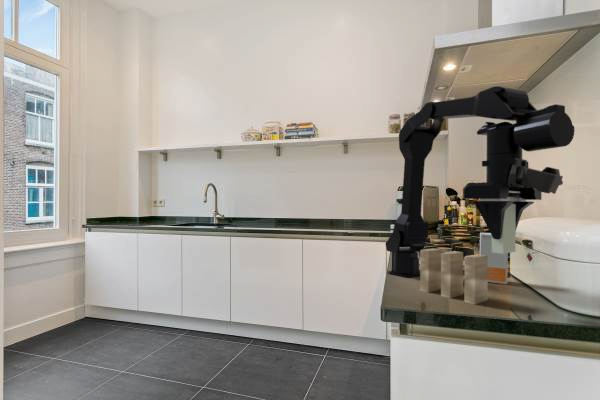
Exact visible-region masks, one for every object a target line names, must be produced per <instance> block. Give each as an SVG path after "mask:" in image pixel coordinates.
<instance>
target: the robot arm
mask: <svg viewBox="0 0 600 400" xmlns="http://www.w3.org/2000/svg"><path fill="white" fill-rule="evenodd" d="M473 117H475V118H476V117H479V118H486V119H493V120H503V121H502V122H498V123H495V122H492V121H485V123H484V124H483V125H482V126H481V127H480V128H479V129H478V130H477V131H476V135H480V136H486V160H482V161H481V167H484V168H485V167H486V177H485V178H486V180H485V181H486V182H470V183H466V185H464V187H463V188H462V199H465V200H469V199H470V200H472V204H474V206H475V207H476V209H477V211H478V212H479V214H480V215H481V217H482V219H483V221H484V223H485V225H486V227H487V229H488V231H489V233H491V235H492V237H493V238H494V239H501V234H502V229H503V222H504V215H505V210H506V209H507V208H508V207H509V206H510V205H511V204H516V227H515V232H516V231H517V227H518V225H519V222H520V219H521V217H522V214H523V212H524V210H526V209H527V208H528V207H529V206H531V205H533V204H534V203H535V201H541V200H542V193H544V194H551V193H552V194H553V195H554V194H556V193H557V190H558V189H559V186H562V185H564V181H563V177H564V176H563V175H561V173H560V169H558V168H555V167H550V166H546V167H544V169H542V170H538V169H534V168H530V167H529V161H527V159H523V151H525V152H537V151H541V150H549V149H550V150H551V149H556V148H563V147H566V146H568V145H570V144H571V142H572V141H573V139H574V136H575V125H573V122H572V119H571V118H570V116H569V114H567V113H566V106H565V105H564V104H563V105H562V104H558V103H556V104H552V105H549V106H547V107H544V108H540V109H537V108H536V106H534V105H533V104H532V103H531V101H530V98H529V95H528V93H527V92H526V90H523V89H518V88H511V87H505V86H498V85H497V86H496V85H495V86H491V87H489V88H486V89H483V90H480V91H479V92H478V93H477V94H476V95H472V96H470V97H462V98H455V99H448V100H442V101H429V102H426V103H425V104H424V105H423V107H422V108H421V109H420V110H419V111H418V112H416V113H415V114H413V115H412V116H411V117H409V118H408V119H407V120H406V122H405V123H404V125H403V126H402V128H400V131H399V134H398V145H399V146H398V148H399V151H400V153H401V155H402V157H403V159H404V166H403V181H402V197H401V198H402V199H401V212H400V214H399V215H398V216H397V218H396V220H395V222H394V224H393V230H392V233H391V234H390V236H389V238H388V239H387V240H386V242H385V249H386V251H387V252H391V270H388V271H387V273H388V274H392V275H396V276H399V277H403V278H404V277H405V278H410V277H414V276H419V275H420V258H419V253H420V250H425V249H424V248H425V244H426V242H427V239H428V238H429V227H430V224H429V222H428V221H425V220H424V218H423V215H422V205H423V203H422V202H423V190H424V189H423V188H424V178H425V177H424V175H425V162H426V159H427V157H428V156H429V155H430V153H431V151H432V150H433V144H434V141H435V139H436V138H437V137H438V135H440V133H441V131H442V126H443V122H444V121H445V120H446V119H458V118H459V119H462V118H463V119H464V118H473ZM429 120H433V121H432V123H431V125H430V126H429V125H428V126H427V125H424V124H426V123H427V122H428V121H429ZM514 121H515V123H511V122H514ZM475 199H476V200H475ZM477 199H478V200H477Z"/></svg>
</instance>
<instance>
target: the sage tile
mask: <svg viewBox="0 0 600 400" xmlns="http://www.w3.org/2000/svg"><path fill="white" fill-rule="evenodd" d="M515 227H516V204H511V205H510V206H509V207H508V208H507V209H506V210H505V215H504V222H503V229H502V234H501V239H494V238H493V237H492V252H493V253H501V254H505V253H508V254H509V253H515V252H516V231H515Z"/></svg>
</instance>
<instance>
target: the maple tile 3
mask: <svg viewBox="0 0 600 400" xmlns="http://www.w3.org/2000/svg"><path fill="white" fill-rule="evenodd" d="M487 269H488V256H487V255H480V253H479V254H477V253H476V254H472V255H465V256H464V291H463V295H464V302H465V303H467V304H471V305H478V304H481V303H484V302H486V301H488V282H487Z"/></svg>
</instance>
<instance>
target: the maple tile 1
mask: <svg viewBox="0 0 600 400" xmlns="http://www.w3.org/2000/svg"><path fill="white" fill-rule="evenodd" d="M441 253H442V249H441V248H433V247H432V248H425V249H423V250H420V252H419V254H420V256H419V257H420V258H419V272H420V277H419V280H420V281H419V291H421V292H424V293H431V292H436V291H439V290H440V291H441Z"/></svg>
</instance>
